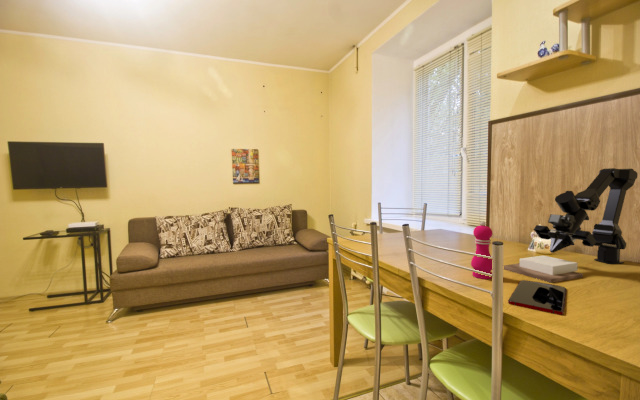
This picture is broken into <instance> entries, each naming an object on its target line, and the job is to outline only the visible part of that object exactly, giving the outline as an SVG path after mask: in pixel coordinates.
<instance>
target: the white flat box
mask: <svg viewBox="0 0 640 400" xmlns="http://www.w3.org/2000/svg"><path fill="white" fill-rule="evenodd" d="M519 263H520V265H519V266H520V267H524V268H528V269H532V270H535V271H539V272H543V273H547V274H550V275H556V274H562V273H568V272H577V271H578V262H576V261H572V260H566V259H561V258H559V257H558V258H557V257H553V256H552V257H551V256H549V255H537V256H536V255H535V256H530V257H523V258H521V257H520V258H519Z"/></svg>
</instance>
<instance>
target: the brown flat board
mask: <svg viewBox="0 0 640 400" xmlns="http://www.w3.org/2000/svg"><path fill="white" fill-rule="evenodd" d="M519 265H520V262H518V263H513V264H505V265H503V266H504V269H503V270H505V271H508V272H512V273H515V274H519V275H522V274H523V276H525V277H529V276H530V277H529V278H533V279H536V278H537V279H536V280H539V279H540V281H543V280H544V282H546V281H547V282H546V283H549V284H550V283H552V282H553V283H558V282H562V281H568V280H569V281H570V280H574V279H580V278H583V277H584V276H583V275H584V273H580V272H577V271H574V272H568V273H562V274H556V275H550V274H547V273H543V272H539V271H535V270H532V269H528V268H524V267H520V266H519ZM553 283H552V284H553Z"/></svg>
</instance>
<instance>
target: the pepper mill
mask: <svg viewBox="0 0 640 400" xmlns="http://www.w3.org/2000/svg"><path fill="white" fill-rule="evenodd" d="M479 224H480V225H477V226H475V227H474V228H473V232H472V233H473V236H474V237H475V238H474V240H475V241H474V243H475V246H476V247H475V252H474V254H475V253H476V254H481V255H486V256H490V257H492V255H491V253H490V245H491V241H492V239H491V238H492V237H493V230H492V228H491V227H490V226H487V225H486V224H487V223H486V222H485V221H484V220H482V221H480V223H479ZM492 260H493V258H492V259H488V258H483V257H477V256H474V255H473V256H472V258H471V261H470V266H471V267H472V268H473V270H474V269H475V270H479V271H483V272H486V273H490V274H492V275H493V272H492V270H493V269H492ZM472 276H473V277H474V278H476V279H480V280H491V279H492V278H493V276H492V277H489V276H485V275H481V274H478V273H475V272H473V271H472Z"/></svg>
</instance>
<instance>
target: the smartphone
mask: <svg viewBox="0 0 640 400" xmlns="http://www.w3.org/2000/svg"><path fill="white" fill-rule="evenodd" d="M566 295H567V288H566V287H565V286H562V285H556V284H553V283H552V284H550V283H547V282H538V281H533V280H532V281H531V280H525V279H522V280H520V281H519V282H518V284H517V285H516V287H515V289H514V290H513V291H512V293H511V295H510V297H509V298H508V299H507V303H508V304H509V305H511V306H515V307H519V308H524V309H530V310H534V311H539V312H543V313H548V314H552V315H558V316H562V315H564V313H565V308H566V299H565V298H566V297H567V296H566Z"/></svg>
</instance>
